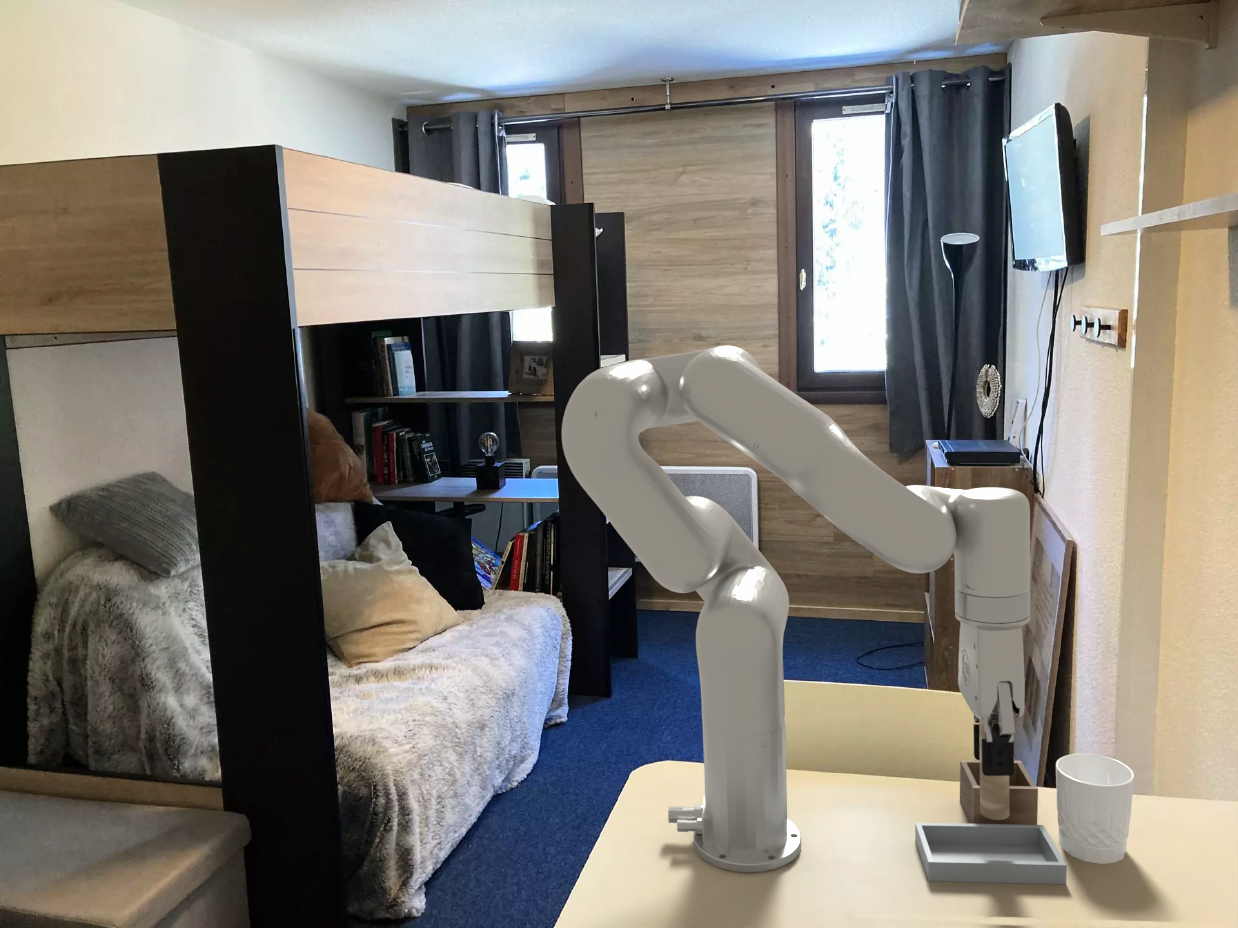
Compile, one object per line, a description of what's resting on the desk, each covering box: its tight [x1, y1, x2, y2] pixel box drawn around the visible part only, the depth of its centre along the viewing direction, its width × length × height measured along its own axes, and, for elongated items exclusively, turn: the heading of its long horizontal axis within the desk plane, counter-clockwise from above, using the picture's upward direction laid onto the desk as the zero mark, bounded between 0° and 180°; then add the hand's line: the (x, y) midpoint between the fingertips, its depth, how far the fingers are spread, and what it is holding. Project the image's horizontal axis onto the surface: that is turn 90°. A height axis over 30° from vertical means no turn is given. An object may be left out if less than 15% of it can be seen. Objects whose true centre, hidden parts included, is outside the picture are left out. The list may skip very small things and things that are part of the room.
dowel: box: [978, 709, 1009, 820], centre depth 108 cm, size 3×3×12 cm
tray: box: [914, 822, 1068, 886], centre depth 110 cm, size 14×8×3 cm, turn 83°
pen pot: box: [959, 759, 1039, 825], centre depth 119 cm, size 7×7×6 cm
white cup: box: [1055, 753, 1135, 865], centre depth 111 cm, size 8×8×10 cm
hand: (993, 764), depth 108 cm, fingers closed on dowel, 3 cm apart
